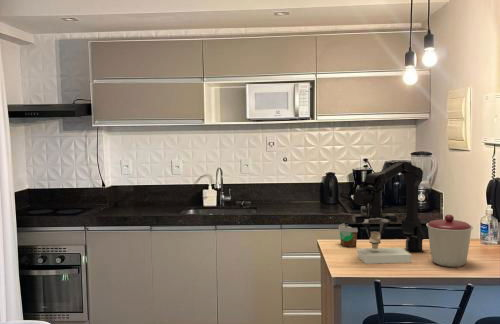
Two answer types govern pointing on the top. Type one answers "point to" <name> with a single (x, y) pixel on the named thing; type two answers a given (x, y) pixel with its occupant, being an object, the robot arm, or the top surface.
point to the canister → (449, 241)
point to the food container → (348, 236)
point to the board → (384, 255)
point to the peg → (375, 239)
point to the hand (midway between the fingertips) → (374, 237)
